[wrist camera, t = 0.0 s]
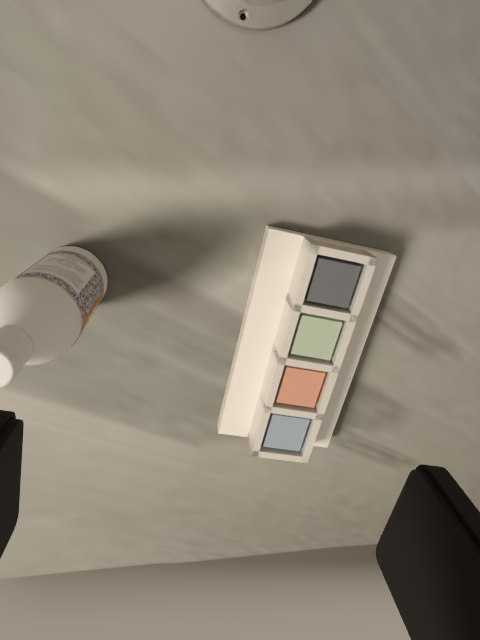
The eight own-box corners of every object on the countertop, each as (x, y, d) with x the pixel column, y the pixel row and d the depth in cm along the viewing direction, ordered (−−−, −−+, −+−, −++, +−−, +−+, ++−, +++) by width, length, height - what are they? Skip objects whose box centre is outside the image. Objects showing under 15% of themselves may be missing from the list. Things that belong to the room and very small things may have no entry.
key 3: (283, 359, 47) (286, 367, 45) (321, 365, 48) (325, 373, 46) (273, 393, 49) (276, 402, 47) (310, 399, 49) (314, 407, 48)
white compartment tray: (266, 225, 45) (275, 235, 40) (388, 251, 47) (412, 264, 42) (217, 423, 53) (219, 453, 48) (322, 437, 56) (335, 467, 51)
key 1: (314, 253, 43) (319, 258, 41) (355, 262, 44) (361, 267, 42) (302, 294, 44) (306, 300, 43) (342, 302, 45) (347, 308, 43)
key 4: (270, 405, 49) (272, 414, 47) (306, 410, 50) (310, 419, 48) (260, 436, 51) (263, 446, 49) (296, 441, 51) (299, 451, 50)
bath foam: (73, 320, 47) (-8, 434, 28) (25, 271, 44) (-98, 360, 26) (122, 283, 46) (72, 377, 27) (76, 231, 43) (-14, 294, 25)
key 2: (298, 309, 45) (302, 315, 43) (337, 316, 46) (342, 322, 44) (287, 346, 46) (290, 353, 45) (325, 352, 47) (330, 360, 45)
